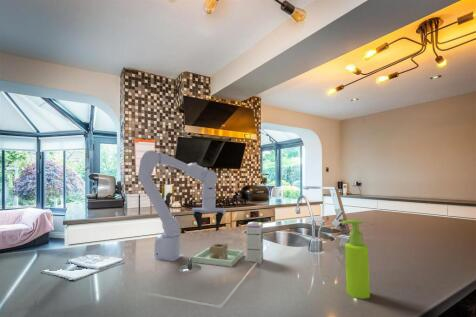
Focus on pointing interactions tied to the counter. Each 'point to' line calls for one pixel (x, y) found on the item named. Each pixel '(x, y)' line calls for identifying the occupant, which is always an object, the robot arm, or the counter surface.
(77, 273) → the bicycle print towel
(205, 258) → the tray
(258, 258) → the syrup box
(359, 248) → the soap dispenser
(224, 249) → the tan wooden hollow block
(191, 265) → the silver knobbed lid
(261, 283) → the counter surface
